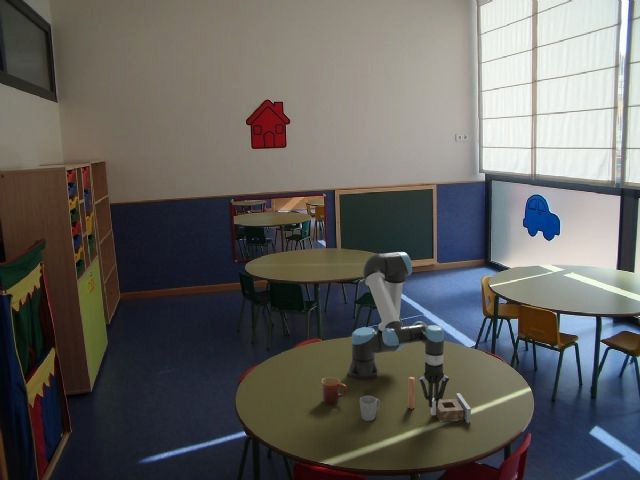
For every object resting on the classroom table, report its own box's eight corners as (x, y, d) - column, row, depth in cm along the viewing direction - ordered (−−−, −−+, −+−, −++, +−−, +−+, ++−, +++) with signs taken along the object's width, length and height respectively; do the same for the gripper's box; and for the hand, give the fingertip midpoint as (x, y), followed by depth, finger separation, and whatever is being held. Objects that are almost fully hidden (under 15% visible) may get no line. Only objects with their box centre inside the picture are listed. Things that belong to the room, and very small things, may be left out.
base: (466, 423, 231) (467, 409, 230) (455, 406, 244) (456, 393, 243) (470, 422, 231) (470, 408, 230) (459, 406, 245) (459, 393, 243)
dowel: (409, 409, 243) (409, 379, 241) (407, 406, 246) (407, 377, 243) (415, 408, 244) (415, 379, 241) (413, 405, 246) (414, 376, 244)
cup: (356, 416, 238) (355, 398, 236) (374, 410, 243) (374, 392, 242) (366, 424, 232) (366, 405, 230) (385, 417, 237) (385, 399, 235)
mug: (319, 405, 249) (318, 384, 247) (325, 396, 257) (324, 375, 255) (344, 408, 245) (344, 387, 243) (349, 399, 253) (349, 379, 251)
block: (440, 422, 232) (440, 411, 231) (433, 410, 242) (433, 400, 241) (463, 420, 233) (463, 410, 232) (455, 409, 242) (455, 398, 241)
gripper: (421, 366, 228) (420, 419, 232) (451, 365, 229) (450, 417, 233) (416, 359, 235) (415, 410, 239) (446, 357, 236) (445, 408, 240)
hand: (433, 413), depth 236 cm, fingers closed
